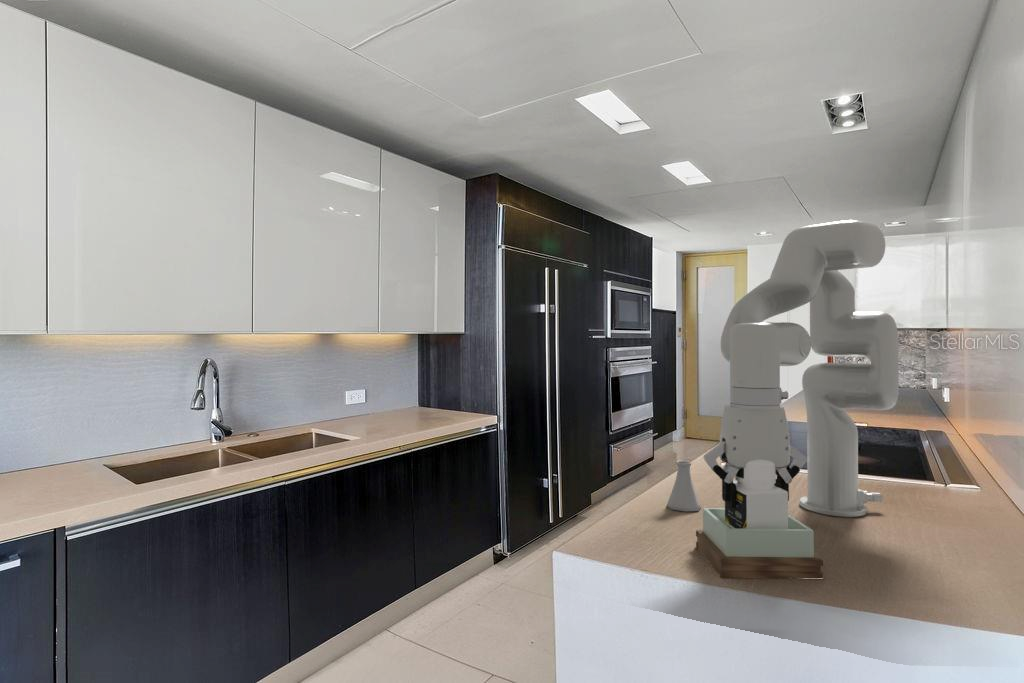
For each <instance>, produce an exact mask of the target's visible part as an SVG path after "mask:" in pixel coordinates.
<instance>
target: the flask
mask: <svg viewBox="0 0 1024 683" xmlns="http://www.w3.org/2000/svg"><path fill="white" fill-rule="evenodd" d="M691 465H692V462H691V461H688V460H677V461H676V466H677V468H676V469H677V470H676V471H677V473H676V479H675V481H674V484H673V488H672V490H671V493H670V495H669V499H668V501H667V503H666V507H667V508H669V509H671V510H675V511H680V512H699V511H700V510H701V509H702V505H701V503H700V500H699V497H698V495H697V493H696V490H695V489H696V488H695V486H694V484H693V481H692V475H691Z"/></svg>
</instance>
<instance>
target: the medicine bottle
mask: <svg viewBox="0 0 1024 683" xmlns="http://www.w3.org/2000/svg"><path fill="white" fill-rule="evenodd" d="M776 479H777V476H776V469H775V464H774V463H773V462H771V461H767V460H754V461H750V462H748V463H746V467H745V468H740V469H739V470H738V472H737V474H736V475H735V477H734V480H733V483H734V484H736V507H735V508H730V507H729V506H728V505H727V504H726V503H725V502H724V508H725V523H726V524H728V525H729V526H731V527H732V528H734V529H788V514H789V501H788V492H787V491H785V490H783V489H781V488H779V487H777V486H774V484H775V483H776Z"/></svg>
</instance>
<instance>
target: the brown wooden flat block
mask: <svg viewBox="0 0 1024 683" xmlns="http://www.w3.org/2000/svg"><path fill="white" fill-rule="evenodd" d="M695 537H696V541H695V548H696V549H697V550H698V551H699V552H700V553H701V554H702V555H704V558H705V559H706V560H707V561H708V563H709V562H710V563H709V564H710V566H711V567H713V569H714V568H715V569H714V570H715V571H716V572H717V574H718V575H719V574H720V575H719V577H720V578H721V579H766V580H768V579H769V580H770V579H773V580H776V579H777V580H778V578H823V579H824V572H823V571H822V567H823V566H824V559H823V558H822V557H820V556H818V555H817V554H816V553H814V558H811V557H727V556H726V555H725V554H724V553H723V552H722V551H721V550H720V549H719V548H718V547H717V546H716V545H715V544H714V543H713V542H712V541H711V540H710V538H709V537H708V536H707V535H706V534H705V533H704V532H703V529H696V530H695Z"/></svg>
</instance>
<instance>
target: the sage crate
mask: <svg viewBox="0 0 1024 683" xmlns="http://www.w3.org/2000/svg"><path fill="white" fill-rule="evenodd" d="M702 530H703V532H704V533H705V534H706V535H707V536H708V537H709V538H710V540H711V541H712V542H713V543H714V544H715V545H716V546H717V547H718V548H719V549H720V550H721V551H722V552H723V553H724V554H725V555H726V556H727V557H811V558H814V554H815V552H814V551H815V546H814V545H815V540H814V538H815V535H814V534H815V533H814V532H815V530H813V529H812V528H810V527H809V526H807V525H806V524H805V523H802V522H801V521H799V520H797V518H794V517H793V516H792V515H790V514H789V513H788V529H734V528H732V527H731V526H729V525H728V524H726V523H725V507H720V508H719V507H703V508H702Z"/></svg>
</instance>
